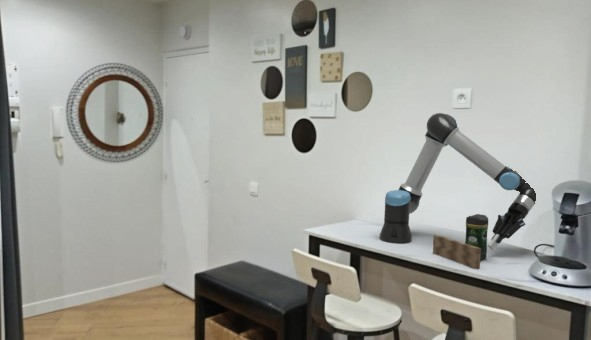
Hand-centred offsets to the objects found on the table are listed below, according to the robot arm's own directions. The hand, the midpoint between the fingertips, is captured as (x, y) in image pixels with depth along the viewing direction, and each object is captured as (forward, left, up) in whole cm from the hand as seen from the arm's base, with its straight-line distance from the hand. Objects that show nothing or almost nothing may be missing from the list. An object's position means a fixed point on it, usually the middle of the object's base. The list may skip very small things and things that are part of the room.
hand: (490, 247), depth 194 cm
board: (0, -20, -4) cm, 20 cm away
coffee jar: (0, -9, -4) cm, 10 cm away
